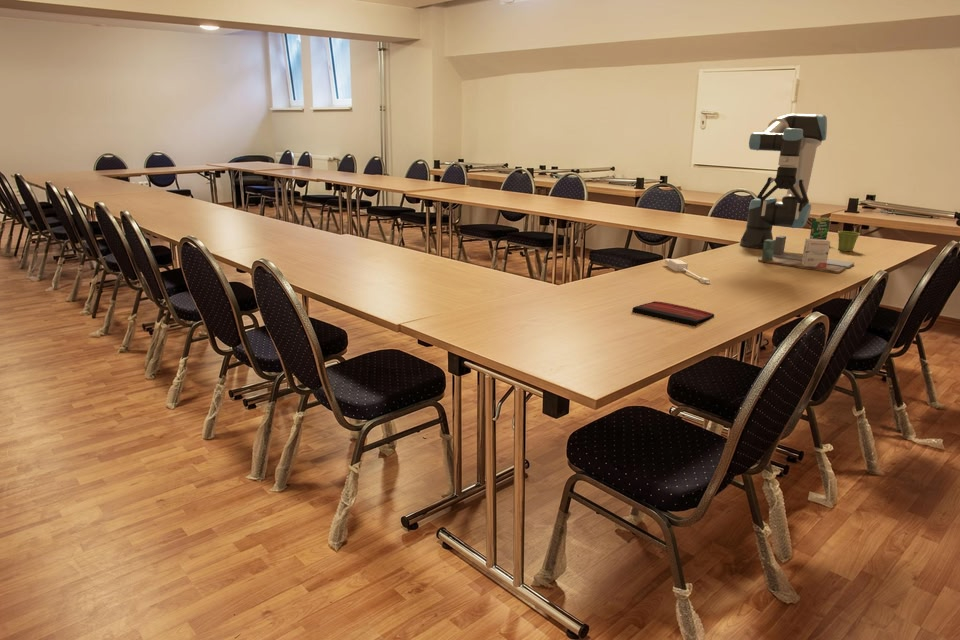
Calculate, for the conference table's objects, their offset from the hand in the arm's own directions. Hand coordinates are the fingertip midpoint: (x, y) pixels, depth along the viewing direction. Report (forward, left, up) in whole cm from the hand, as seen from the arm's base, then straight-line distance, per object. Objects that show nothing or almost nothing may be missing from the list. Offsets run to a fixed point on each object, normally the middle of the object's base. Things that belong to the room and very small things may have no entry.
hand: (779, 217), depth 284 cm
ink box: (+17, -1, -19) cm, 26 cm away
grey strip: (+12, +14, -19) cm, 26 cm away
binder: (+4, -108, -20) cm, 110 cm away
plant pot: (+17, +54, -19) cm, 60 cm away
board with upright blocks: (+12, 0, -19) cm, 22 cm away
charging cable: (-17, -51, -20) cm, 58 cm away
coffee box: (+2, +63, -19) cm, 66 cm away
